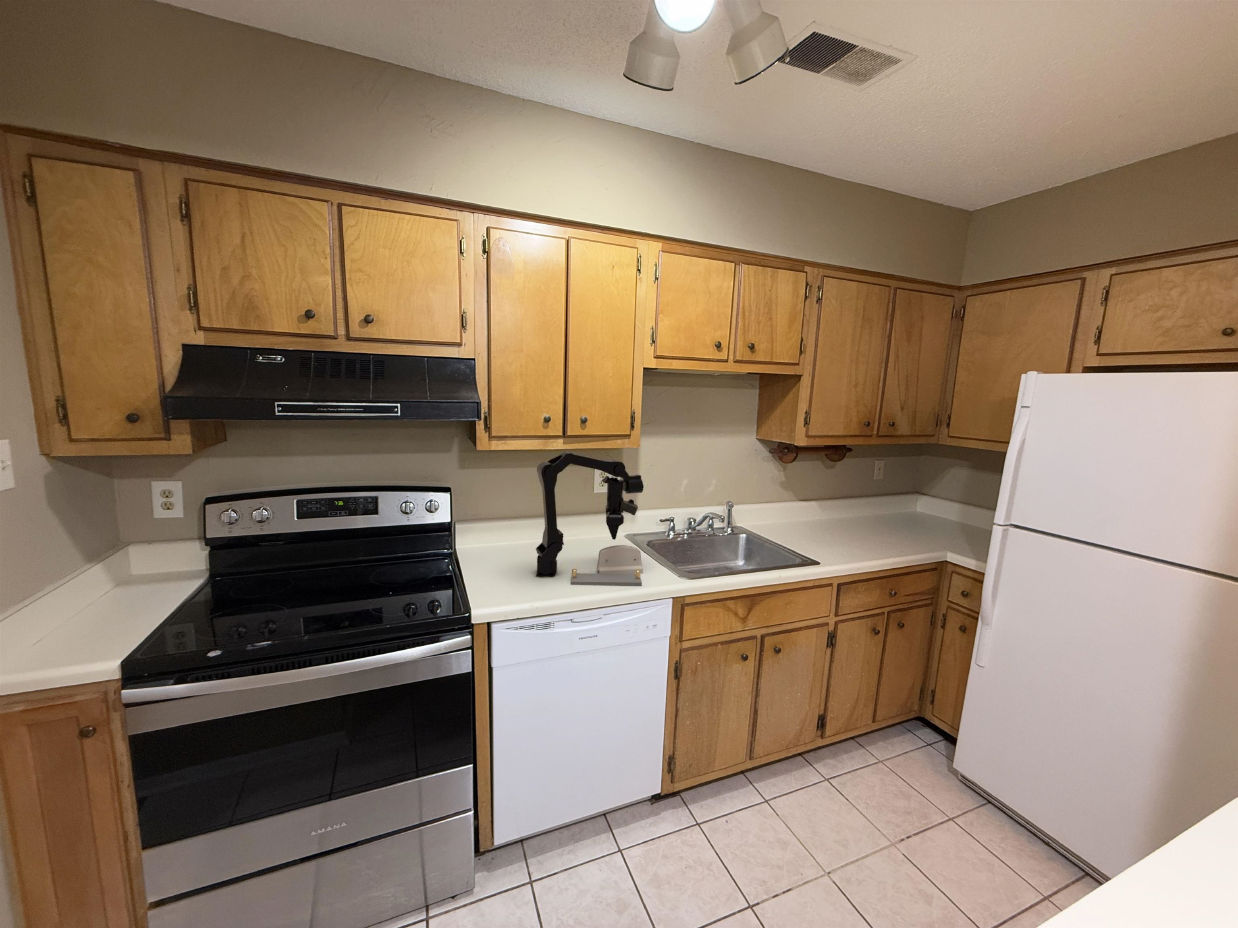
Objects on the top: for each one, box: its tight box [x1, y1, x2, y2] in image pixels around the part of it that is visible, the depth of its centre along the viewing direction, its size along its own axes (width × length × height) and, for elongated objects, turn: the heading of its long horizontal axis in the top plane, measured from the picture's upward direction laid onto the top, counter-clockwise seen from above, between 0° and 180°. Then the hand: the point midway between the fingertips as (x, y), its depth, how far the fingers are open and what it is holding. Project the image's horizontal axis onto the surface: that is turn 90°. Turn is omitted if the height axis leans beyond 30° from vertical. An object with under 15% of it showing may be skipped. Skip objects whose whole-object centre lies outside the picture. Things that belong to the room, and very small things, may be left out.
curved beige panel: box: [596, 544, 644, 575], centre depth 183 cm, size 17×5×10 cm, turn 103°
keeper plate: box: [570, 568, 643, 587], centre depth 173 cm, size 24×8×4 cm, turn 94°
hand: (613, 535), depth 185 cm, fingers open, 9 cm apart
